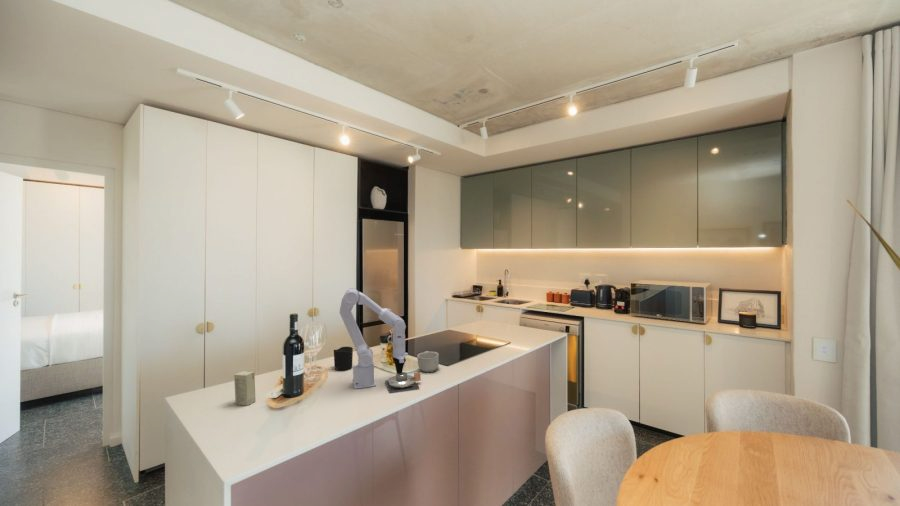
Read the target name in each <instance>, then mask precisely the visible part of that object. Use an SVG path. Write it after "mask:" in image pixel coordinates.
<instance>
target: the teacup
mask: <svg viewBox="0 0 900 506" xmlns="http://www.w3.org/2000/svg"><path fill="white" fill-rule="evenodd" d="M439 355H440V354H439V352H437V351H428V350H425V351H423V352H420V353H418V354H417V355H416V357H417V358H416V359H417V366H418V368H419V370H420V371H422V372H425V373H431V372H435V371H436V370H437V368H439V364H440V363H439V361H440V360H439Z"/></svg>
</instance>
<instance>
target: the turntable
mask: <svg viewBox="0 0 900 506" xmlns="http://www.w3.org/2000/svg"><path fill="white" fill-rule="evenodd" d="M387 380H388V381H387V385H389V386H391V387H396V388H403V387H408V386H411V385H413V384H414V383H415V382H419V381H422V380H421V372H420V371H417V372H414V373H413V375H410V374H407V380H406V381H404V382H398V381H396V375H393V376H391V377H389V378H388V379H387Z"/></svg>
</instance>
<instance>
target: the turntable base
mask: <svg viewBox="0 0 900 506" xmlns="http://www.w3.org/2000/svg"><path fill="white" fill-rule="evenodd" d="M387 381H388V379H386V380H384V383H385V386H386V388H387V391H388V393H389V394H394V393H401V392H409V391H417V390H420V387H419V384H418V383H417V381H415V383H414V384H413V385H411V386H408V387H403V388H396V387H391V386H389V385H387Z"/></svg>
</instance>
